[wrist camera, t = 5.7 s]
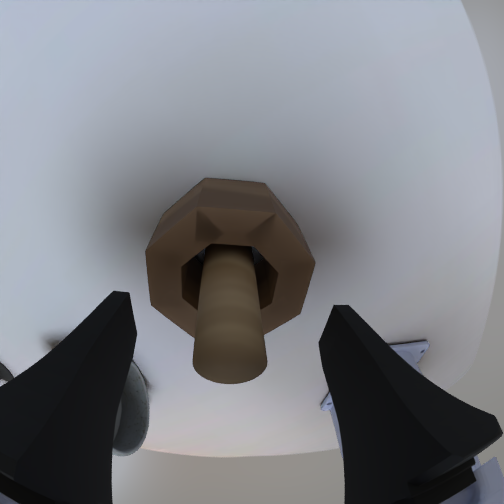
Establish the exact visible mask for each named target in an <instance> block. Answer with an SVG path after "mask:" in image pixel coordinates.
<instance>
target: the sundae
mask: <svg viewBox="0 0 504 504" xmlns="http://www.w3.org/2000/svg"><path fill="white" fill-rule="evenodd" d="M0 379H4V380H6V381H8V382H9V381H11V380H12V379H13V376H12V374H11V373H10V372H9V370H8V369H7V368H6V367H5V366H4V365H3V364H1V363H0Z"/></svg>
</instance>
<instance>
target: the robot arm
mask: <svg viewBox="0 0 504 504" xmlns="http://www.w3.org/2000/svg"><path fill="white" fill-rule="evenodd" d="M136 337H137V330H136V325H135V320H134V315H133V310H132V304H131V299H130V293H129V292H120V291H113V292H112V293H111V294H110V295H109V296H108V297H107V298H106V299H104V300H103V301H102V302H101V303H100V304H99V305H98V306H97V307H96V308H95V309H94V311H93V312H92V313H91V314H90V315H89V316H88V317H87V318H86V319H84V320H83V321H82V322H81V323H80V324H79V325H78V326H77V327H76V328H75V329H74V330H73V331H72V332H71V333H70V334H69V335H68V336H67V337H66V338H65V339H64V340H63V341H61V342H60V343H59V344H58V345H57V346H56V347H55V348H54V349H53V350H51V351H50V352H49V353H48V354H47V355H45V356H44V357H43V358H42V359H40V360H39V361H38V362H37V363H35V364H34V365H33V366H31V367H30V368H28V369H27V370H25V371H24V372H22V373H21V374H19V375H18V376H17V377H15V378H14V379H12V380H11V381H9V382H7V383H6V384H4V385H2V386H0V504H113V503H112V482H111V480H112V451H113V439H114V430H115V423H116V416H117V412H118V407H119V403H120V400H121V396H122V393H123V389H124V386H125V382H126V379H127V376H128V372H129V369H130V365H131V362H132V359H133V354H134V349H135V343H136ZM429 346H430V344H429V342H428V341H422V342H415V343H407V344H399V345H390V346H389V345H388V344H387V343H386V342H385V341H384V340H383V339H382V338H381V337H380V336H379V335H378V334H377V333H376V332H375V331H374V330H373V329H372V328H371V327H370V326H369V325H368V324H367V323H366V322H365V321H364V320H363V319H362V318H361V317H360V316H359V315H358V314H357V313H356V312H355V311H354V310H353V309H352V308H351V307H350V306H349V305H333V308H332V311H331V313H330V316H329V318H328V321H327V323H326V326H325V328H324V331H323V333H322V336H321V338H320V340H319V349H320V356H321V362H322V367H323V371H324V374H325V378H326V381H327V384H328V388H329V391H330V393H329V394H328V396H327V397H326V399H325V400H324V402H323V403H322V405H321V410H323V411H326V410H330V412H331V415H332V419H333V423H334V427H335V431H336V435H337V439H338V443H339V447H340V451H341V455H342V458H343V461H344V477H345V504H504V477H503V474H502V472H501V469H500V466H499V463H498V461H497V458H496V457H493V458H492V459H491V460H489V461H488V462H486V463H484V464H483V465H481V464H480V461H479V459H478V456H477V454H479V453H480V452H482V451H483V450H484V449H486V448H487V447H488V446H490V445H491V444H493V443H494V442H495V441H496V440H498V439H499V438H500V437H501V436H502V434H503V432H502V430H501V428H500V425H499V423H498V421H497V419H496V417H495V416H494V415H492V414H489V413H487V412H485V411H482V410H480V409H477V408H475V407H473V406H471V405H469V404H467V403H465V402H463V401H461V400H459V399H457V398H456V397H454V396H452V395H451V394H449V393H447V392H446V391H444V390H443V389H441V388H440V387H438V386H437V385H435V384H434V383H432V382H431V381H430V380H428V379H427V378H426V377H424V376H423V375H422V373H421V371H420V369H419V367H418V365H417V363H418V361H419V360H420V359H421V357H422V356H423V355H424V353H425V352H426V350H427V349H428V347H429Z"/></svg>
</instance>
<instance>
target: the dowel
mask: <svg viewBox="0 0 504 504" xmlns="http://www.w3.org/2000/svg"><path fill="white" fill-rule="evenodd" d="M193 367H194V369H195V370H196V372H197V373H198V374H199V375H201V376H202V377H204V378H205V379H207V380H210V381H213V382H216V383H222V384H238V383H243V382H247V381H250V380H252V379H255V378H256V377H258V376H259V375H261V374H262V373H263V372H264V370H265V369H266V367H267V355H266V348H265V341H264V333H263V326H262V319H261V311H260V304H259V297H258V289H257V282H256V275H255V267H254V260H253V253H252V246H241V245H227V244H213V243H211V244H210V245H208V246H207V247H206V248H205V255H204V263H203V270H202V278H201V286H200V295H199V303H198V312H197V321H196V331H195V341H194V351H193Z"/></svg>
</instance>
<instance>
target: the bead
mask: <svg viewBox="0 0 504 504" xmlns="http://www.w3.org/2000/svg"><path fill="white" fill-rule="evenodd" d="M211 243H213V244H227V245H241V246H254V247H255V248H256V249H257V250H258V251H259V252H260V253H261V254H262V256H263V257H264V259H263V260H261V261H260V262H258V263H257V264H256V265H254V267H255V275H256V282H257V289H258V297H259V304H260V311H261V319H262V326H263V333H264V335H265V334H267V333H268V332H270V331H272V330H274V329H275V328H277V327H279V326H281V325H282V324H284V323H286V322H287V321H289V320H291V319H292V318H294V317H296V316H297V315H299V314H300V313H301V310H302V307H303V304H304V300H305V297H306V294H307V291H308V287H309V284H310V280H311V277H312V273H313V270H314V266H315V261H314V258H313V256H312V254H311V252H310V250H309V248H308V246H307V243H306V241H305V239H304V237H303V235H302V233H301V231H300V229H299V227H298V224H297V223H296V222H295V221H294V219H293V218H292V217H291V215H290V214H289V213H288V212H287V210H286V209H285V208H284V207H283V205H282V204H281V203H280V202H279V200H278V199H277V198H276V197H275V195H274V194H273V193H272V192H271V190H270V189H269V188H268V187H267V185H266V184H265V183H259V182H249V181H238V180H226V179H213V178H204V179H203V180H202V181H201V182H200V183H198V184H197V185H196V186H195V187H194V188H193V189H191V190H190V191H189V192H188V193H187V194H186V195H184V196H183V197H182V198H181V199H180V200H179V201H177V202H176V203H175V204H174V205H173V206H172V207H171V208H170V209H168V210H167V211H166V212H165V213H164V214H163V216H162V218H161V220H160V222H159V224H158V226H157V228H156V230H155V232H154V234H153V236H152V238H151V240H150V242H149V244H148V246H147V249H146V251H145V253H146V265H147V275H148V284H149V293H150V301H151V306H153V307H154V308H155V309H156V310H158V311H159V312H160V313H162V314H163V315H164V316H165V317H167V318H168V319H169V320H171V321H172V322H173V323H175V324H176V325H177V326H179V327H180V328H181V329H183V330H184V331H185V332H187V333H188V334H189V335H191V336H192V337H194V338H195V331H196V321H197V312H198V303H199V295H200V286H201V278H202V270H203V265H202V264H201V263H200V262H199V261H198V260H197V259H196V258H195V257H194V256H195V255H197V254H198V253H199V252H201V251H202V250H203V249H205V248H206V247H207V246H208V245H210V244H211Z"/></svg>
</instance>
